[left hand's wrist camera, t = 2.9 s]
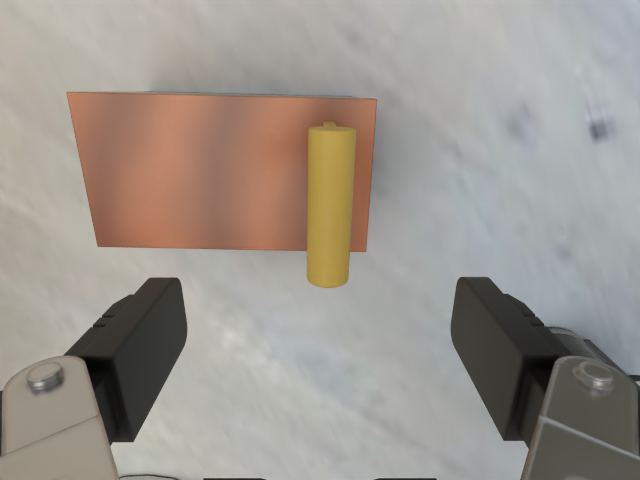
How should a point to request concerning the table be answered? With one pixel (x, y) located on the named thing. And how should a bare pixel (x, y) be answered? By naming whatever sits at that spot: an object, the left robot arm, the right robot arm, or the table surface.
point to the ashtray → (144, 478)
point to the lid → (229, 173)
